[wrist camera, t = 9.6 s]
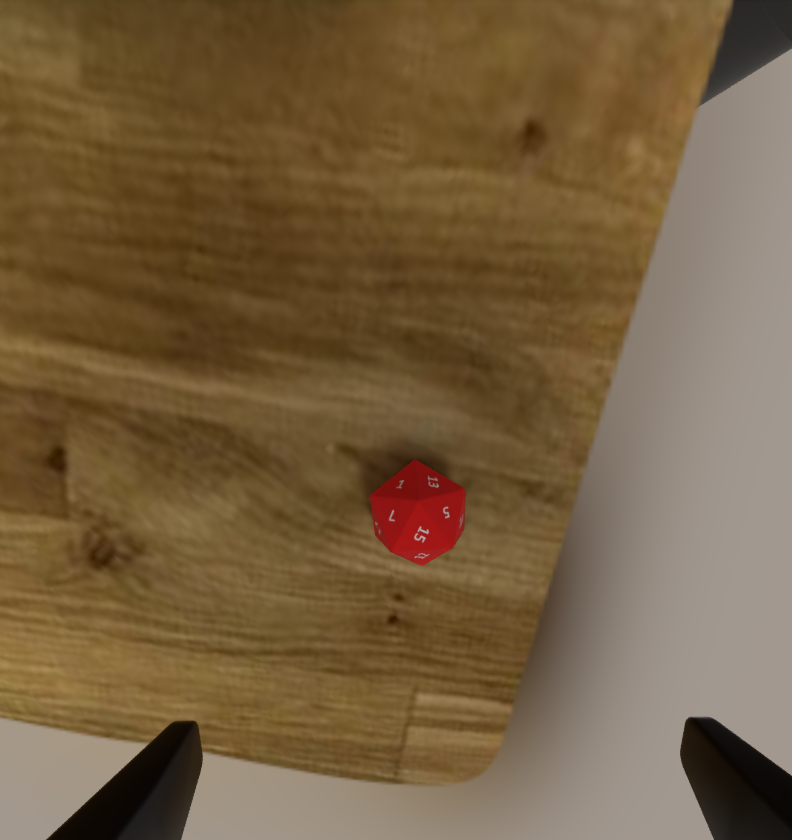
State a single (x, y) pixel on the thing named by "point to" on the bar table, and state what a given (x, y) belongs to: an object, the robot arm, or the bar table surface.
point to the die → (418, 513)
